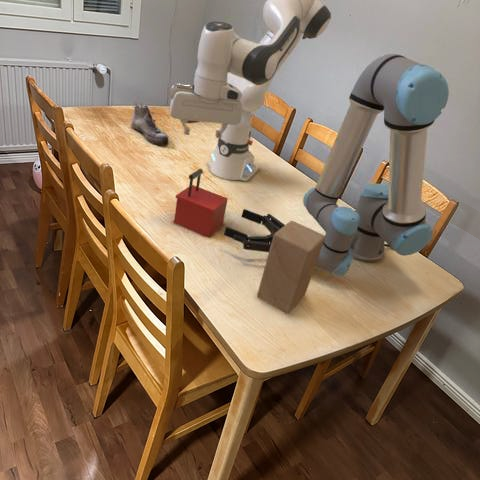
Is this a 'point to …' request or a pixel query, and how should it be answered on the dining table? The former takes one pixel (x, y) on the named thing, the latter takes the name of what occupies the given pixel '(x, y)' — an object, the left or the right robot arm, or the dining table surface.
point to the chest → (199, 218)
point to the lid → (201, 195)
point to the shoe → (147, 125)
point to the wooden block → (290, 265)
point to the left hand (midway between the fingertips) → (202, 135)
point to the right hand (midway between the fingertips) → (234, 221)
